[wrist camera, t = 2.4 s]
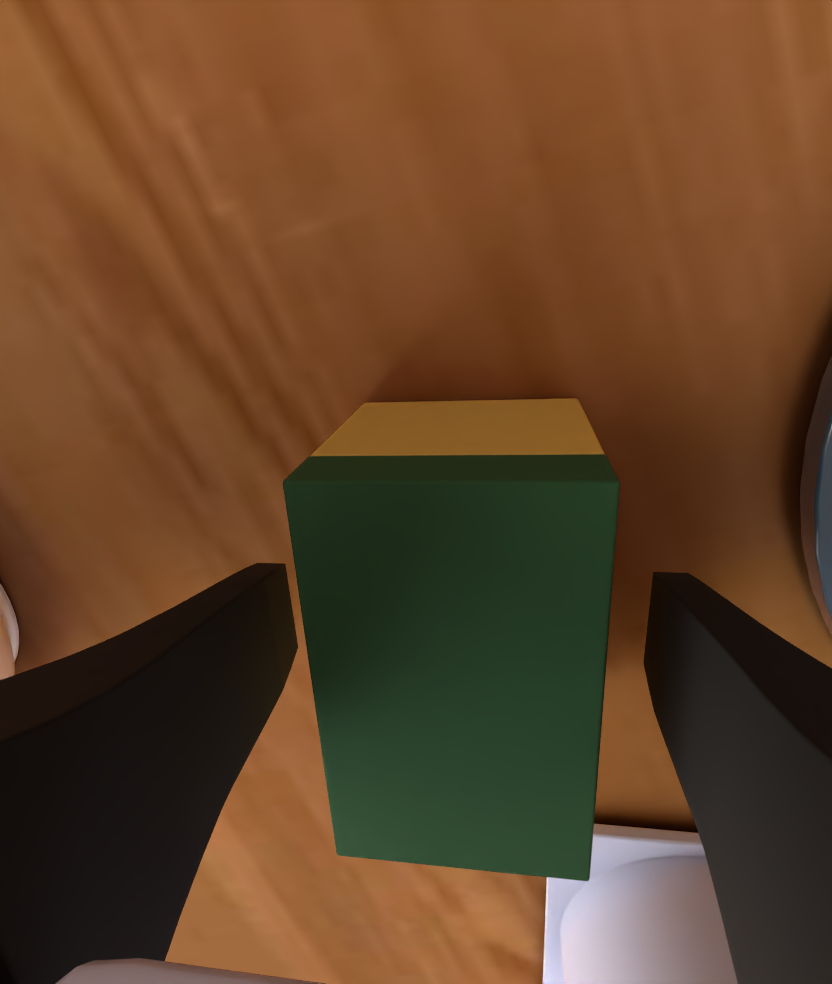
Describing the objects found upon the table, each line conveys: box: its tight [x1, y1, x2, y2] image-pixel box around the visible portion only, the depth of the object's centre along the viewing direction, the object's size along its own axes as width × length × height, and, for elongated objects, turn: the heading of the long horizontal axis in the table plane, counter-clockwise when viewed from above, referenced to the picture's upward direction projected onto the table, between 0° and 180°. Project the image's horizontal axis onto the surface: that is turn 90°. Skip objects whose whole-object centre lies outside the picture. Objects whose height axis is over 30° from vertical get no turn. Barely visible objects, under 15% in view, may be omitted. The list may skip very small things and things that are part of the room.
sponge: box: [283, 398, 620, 881], centre depth 12 cm, size 8×5×5 cm, turn 3°
